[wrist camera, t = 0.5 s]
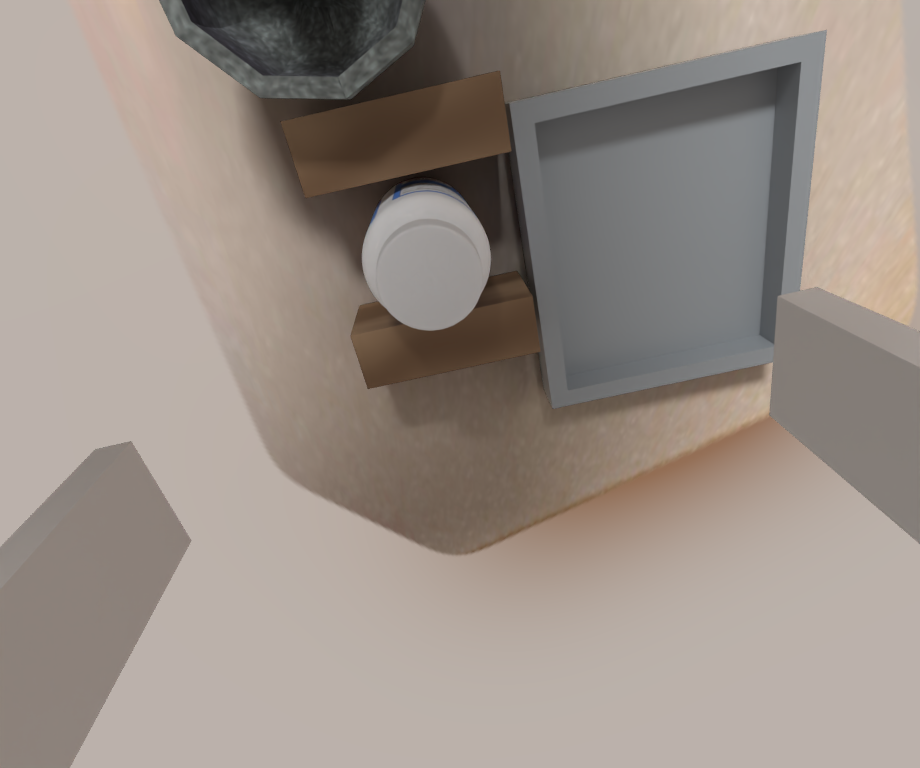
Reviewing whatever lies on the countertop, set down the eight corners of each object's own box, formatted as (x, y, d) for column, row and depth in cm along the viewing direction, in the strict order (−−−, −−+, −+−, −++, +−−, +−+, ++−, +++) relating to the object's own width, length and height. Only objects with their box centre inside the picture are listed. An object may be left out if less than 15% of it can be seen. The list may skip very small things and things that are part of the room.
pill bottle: (421, 299, 30) (422, 376, 21) (350, 226, 28) (320, 279, 19) (496, 233, 28) (530, 286, 20) (427, 151, 26) (432, 170, 18)
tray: (501, 103, 25) (509, 103, 23) (790, 37, 25) (826, 29, 23) (543, 388, 33) (552, 408, 31) (767, 341, 32) (792, 357, 30)
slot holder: (302, 119, 25) (280, 121, 21) (486, 77, 25) (499, 70, 21) (374, 353, 31) (367, 389, 27) (524, 320, 31) (540, 351, 27)
